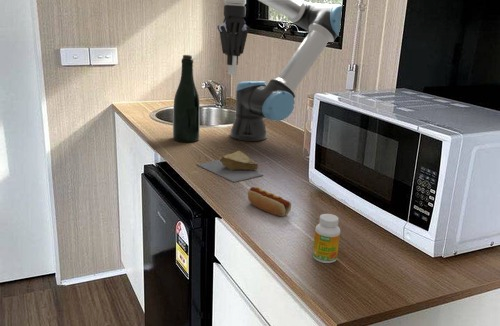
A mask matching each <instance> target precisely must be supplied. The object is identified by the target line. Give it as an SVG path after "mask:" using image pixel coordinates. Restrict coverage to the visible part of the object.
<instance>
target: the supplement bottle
mask: <svg viewBox="0 0 500 326" xmlns="http://www.w3.org/2000/svg"><path fill="white" fill-rule="evenodd" d="M340 237H341V228H340V226H339V217H338V216H337V215H335V214H332V213H322V214H320V215H319V223H317V224H316V226H315V230H314V239H313V249H312V258H313V259H314V260H315V261H317V262H319V263H323V264H331V263H334V262H336V261H337V259H338V254H339V245H340Z"/></svg>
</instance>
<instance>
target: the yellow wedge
mask: <svg viewBox="0 0 500 326" xmlns="http://www.w3.org/2000/svg"><path fill="white" fill-rule="evenodd" d="M219 160H220V161H221V162H222V164H223V165H224V166H225V167H227V168H228V169H230V170H232V171H233V170H241V169H244V170H253V171H256V170H258V167H259V164H258V163H257V162H256V161H254V160H253V158H250V157H249V156H248V155H247V154H246V153H244V152H242V150H237V151H235V152H233V153H228V154H226V155H224V156H222V157H221V158H220V159H219Z"/></svg>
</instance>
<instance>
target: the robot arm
mask: <svg viewBox="0 0 500 326" xmlns="http://www.w3.org/2000/svg"><path fill="white" fill-rule="evenodd" d="M257 1H258V2H260V3H262V4H264V5H266V6H268V7H269V8H271V9H273V10H275V11H277V12H278V13H280V14H282V15H284V16H286V17H287V20H288V21H289V22H291V23H293V24H295V25H296V26H298V27H300V28H302V29H304V30H305V31H308V33H307V35H306V36H305V37H304V38H303V40H302V42H301V43H300V44H299V46H298V47H297V49H296V50H295V52H294V53H293V54H292V56H291V57H290V59H289V60H288V62H287V63H286V65H285V66H284V67H283V69H282V70H281V71H280V73H279V74H278V75H277V77H276V78H271V79H270V80H269V81H268V83H266V81H263V80H261V81H260V80H257V81H254V80H252V81H251V80H250V81H249V80H247V81H240V82H238V83H237V85H236V91H235V94H236V95H235V98H236V99H235V116H234V121H233V123H232V127H231V129H230V137H231V138H233V139H235V140H239V141H245V142H257V141H259V142H260V141H264V140H266V139H267V137H268V133H267V128H266V123H265V120H264V118H265V119H267V120H269V121H276V122H280V121H281V122H282V121H284V120H285V119H287V118H289V117H290V116H291V114H292V113H293V111H294V107H295V106H294V105H295V98H296V93H295V92H296V89H297V88H298V87H299V86H300V85H301V82H302V81H303V80H304V79H305V77H306V76H307V74H308V72H309V71H310V70H311V68H312V67H313V65H314V64H315V62H316V61H317V60H318V58H319V57H320V55H321V53H322V52H323V51H324V50H325V48H326V47H327V45H328V44H327V43H328V42H333V43H334V42H335V40H336V38H337V37H340V36H339V32H340V24H341V12H342V5H343V4H338V3H333V4H331V3H330V4H329V3H313V2H308V1H306V0H257ZM223 3H224V4H225V5H224V6H223V16H224V19H223V20H222V21H223V22H222V24H220V25H217V30H218V32H219V36H220V37H219V38H220V42H221V43H220V44H221V51H222V54H225V55H226V57H227V58H226V59H227V60H226V64H227V67H228V68H227V69H228V70H227V75H232V76H235V75H236V76H237V65H239V57H241V56H242V54H243V53H244V49H245V46H246V41H247V38H248V33H249V32H250V30H251V27H250V26H248V25H247V24H246V21H245V17H246V14H247V13H246V11H247V8H246V6H245V5H246V4H247V0H223Z"/></svg>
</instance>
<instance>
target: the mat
mask: <svg viewBox="0 0 500 326" xmlns="http://www.w3.org/2000/svg"><path fill="white" fill-rule="evenodd" d="M220 160H221V159H218V160H217V159H216V160H212V161H207V162H206V161H205V162H202V163H197V164H196V166H198V167H200V168H202V169H204V170H206V171H208V172H211V173H213V174H215V175H216V176H219V177H221V178H223V179H226V180H227V181H230V182H232V183H239V182H242V181H246V180H251V179H255V178H259V177H263V176H264V174H261V173H259V172H257V171H256V170H244V169H241V170H233V171H232V170H230V169H228V168H227V167H225V166H224V165H223V164H222V162H221V161H220Z"/></svg>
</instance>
